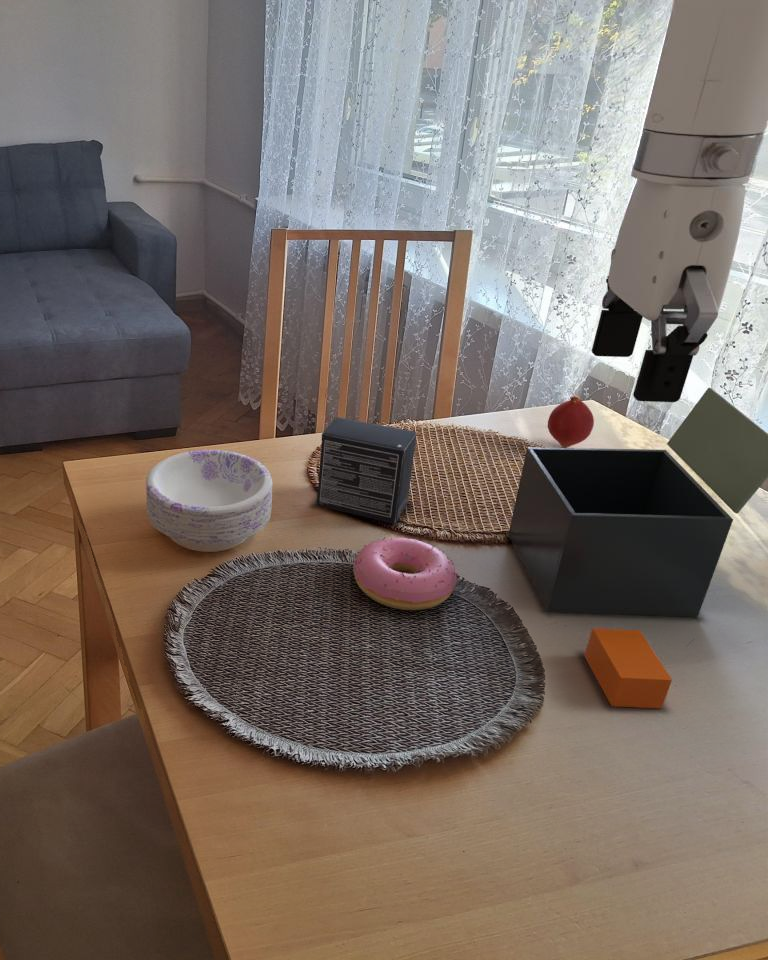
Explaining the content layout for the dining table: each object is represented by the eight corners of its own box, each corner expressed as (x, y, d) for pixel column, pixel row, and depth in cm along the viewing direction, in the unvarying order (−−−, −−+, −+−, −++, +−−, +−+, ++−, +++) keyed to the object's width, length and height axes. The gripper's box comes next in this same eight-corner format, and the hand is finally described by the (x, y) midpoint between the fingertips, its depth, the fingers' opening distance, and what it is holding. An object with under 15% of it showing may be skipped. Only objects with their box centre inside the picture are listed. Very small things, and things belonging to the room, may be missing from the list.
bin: (638, 539, 102) (665, 449, 97) (698, 617, 89) (733, 519, 84) (508, 535, 104) (527, 447, 98) (547, 611, 91) (572, 515, 85)
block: (631, 657, 84) (640, 630, 83) (662, 709, 78) (672, 679, 77) (584, 656, 85) (592, 628, 83) (611, 706, 79) (620, 677, 77)
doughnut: (407, 630, 89) (412, 598, 87) (330, 580, 97) (333, 550, 95) (475, 593, 94) (481, 562, 92) (396, 549, 102) (400, 519, 100)
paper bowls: (131, 555, 103) (128, 498, 99) (166, 494, 115) (166, 441, 111) (256, 576, 98) (259, 517, 94) (279, 510, 111) (283, 455, 107)
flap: (666, 443, 96) (669, 445, 96) (734, 512, 83) (737, 513, 83) (708, 387, 93) (711, 388, 93) (785, 449, 80) (789, 451, 80)
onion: (555, 434, 127) (567, 384, 123) (594, 446, 123) (607, 395, 119) (535, 446, 124) (546, 395, 120) (575, 459, 120) (588, 407, 116)
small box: (409, 502, 111) (420, 429, 106) (395, 526, 107) (406, 451, 101) (330, 484, 116) (337, 413, 111) (314, 506, 111) (320, 433, 106)
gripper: (815, 178, 54) (730, 422, 63) (697, 140, 69) (640, 342, 78) (688, 177, 55) (620, 418, 64) (598, 141, 70) (553, 339, 79)
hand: (631, 376), depth 71 cm, fingers open, 9 cm apart
